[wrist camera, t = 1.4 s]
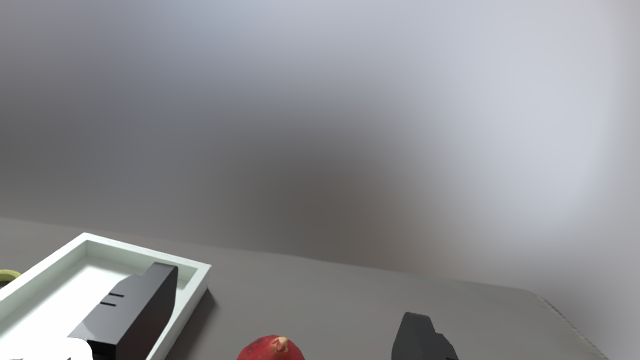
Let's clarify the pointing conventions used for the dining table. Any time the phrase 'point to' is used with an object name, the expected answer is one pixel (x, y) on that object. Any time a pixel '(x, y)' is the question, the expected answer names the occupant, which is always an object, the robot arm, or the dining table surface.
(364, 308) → the dining table surface
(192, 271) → the tray
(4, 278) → the key
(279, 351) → the onion
